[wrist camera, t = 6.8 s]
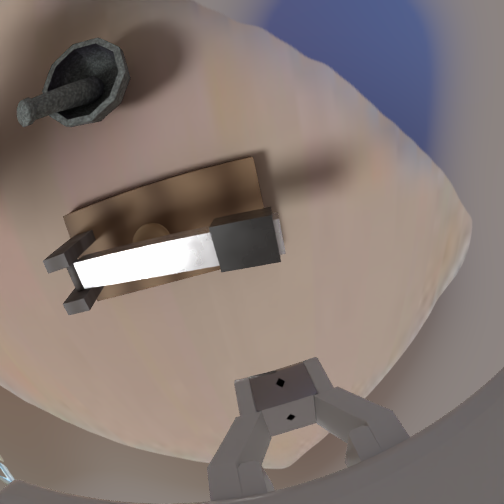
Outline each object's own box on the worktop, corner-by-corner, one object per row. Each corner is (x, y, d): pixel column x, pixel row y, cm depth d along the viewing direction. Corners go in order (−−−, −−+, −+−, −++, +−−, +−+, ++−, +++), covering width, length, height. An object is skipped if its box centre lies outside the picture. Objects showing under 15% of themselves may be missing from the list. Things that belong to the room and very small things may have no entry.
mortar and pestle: (116, 43, 23) (81, 3, 12) (155, 90, 27) (129, 60, 16) (50, 103, 24) (-5, 93, 13) (85, 152, 28) (33, 158, 17)
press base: (101, 293, 34) (77, 336, 25) (69, 212, 30) (29, 236, 21) (270, 249, 36) (292, 284, 27) (250, 156, 31) (268, 159, 22)
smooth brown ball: (144, 258, 32) (136, 274, 28) (132, 224, 30) (122, 236, 26) (178, 249, 32) (175, 264, 28) (167, 214, 30) (161, 224, 26)
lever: (96, 282, 28) (85, 294, 25) (82, 250, 26) (69, 260, 24) (284, 248, 25) (287, 260, 23) (276, 205, 24) (278, 213, 21)
